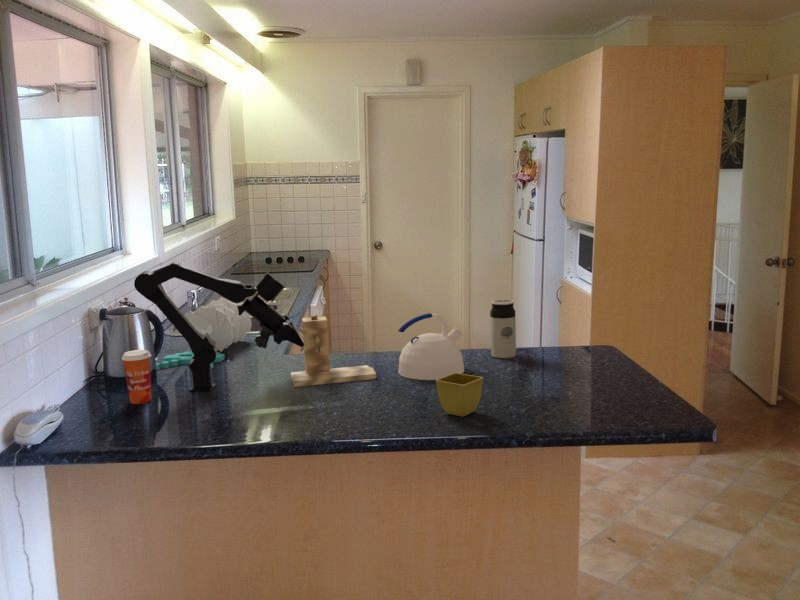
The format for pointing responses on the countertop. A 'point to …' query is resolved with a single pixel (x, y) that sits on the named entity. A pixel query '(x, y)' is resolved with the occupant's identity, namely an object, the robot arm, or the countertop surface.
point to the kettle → (431, 353)
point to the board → (333, 376)
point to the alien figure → (183, 359)
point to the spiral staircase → (221, 322)
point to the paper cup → (138, 375)
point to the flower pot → (459, 393)
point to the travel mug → (503, 329)
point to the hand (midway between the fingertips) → (303, 345)
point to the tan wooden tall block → (316, 344)
